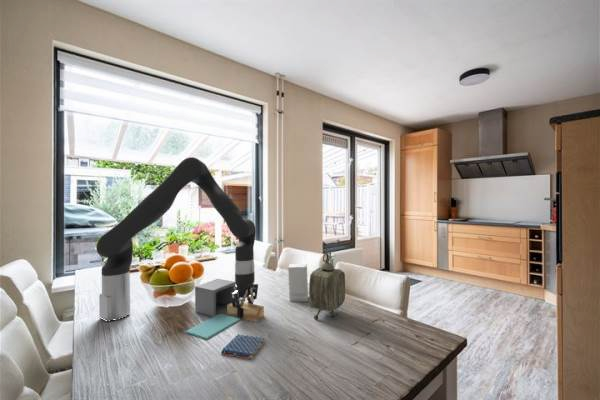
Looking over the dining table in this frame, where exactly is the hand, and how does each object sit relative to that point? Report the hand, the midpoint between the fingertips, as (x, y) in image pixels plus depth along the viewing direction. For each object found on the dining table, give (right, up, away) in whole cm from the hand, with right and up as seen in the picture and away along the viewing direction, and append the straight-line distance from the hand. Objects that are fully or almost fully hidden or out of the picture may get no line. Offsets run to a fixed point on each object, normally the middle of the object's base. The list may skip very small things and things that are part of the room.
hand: (245, 314), depth 105 cm
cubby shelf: (-14, -1, +8) cm, 16 cm away
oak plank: (0, -1, 0) cm, 1 cm away
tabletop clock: (+33, 0, -1) cm, 33 cm away
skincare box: (+21, -1, +17) cm, 27 cm away
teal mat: (-9, -1, -9) cm, 13 cm away
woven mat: (+4, -1, -23) cm, 23 cm away
